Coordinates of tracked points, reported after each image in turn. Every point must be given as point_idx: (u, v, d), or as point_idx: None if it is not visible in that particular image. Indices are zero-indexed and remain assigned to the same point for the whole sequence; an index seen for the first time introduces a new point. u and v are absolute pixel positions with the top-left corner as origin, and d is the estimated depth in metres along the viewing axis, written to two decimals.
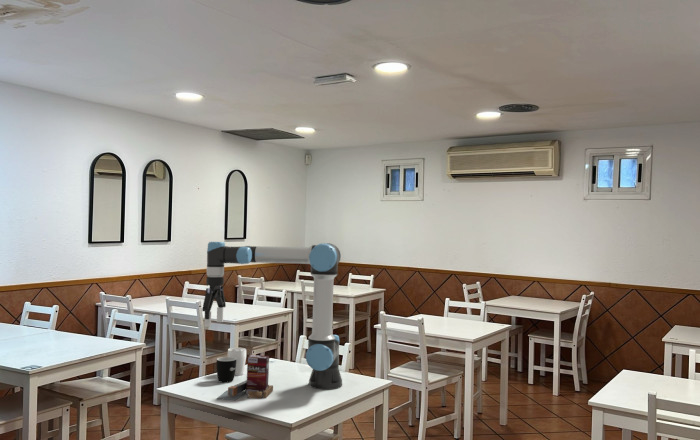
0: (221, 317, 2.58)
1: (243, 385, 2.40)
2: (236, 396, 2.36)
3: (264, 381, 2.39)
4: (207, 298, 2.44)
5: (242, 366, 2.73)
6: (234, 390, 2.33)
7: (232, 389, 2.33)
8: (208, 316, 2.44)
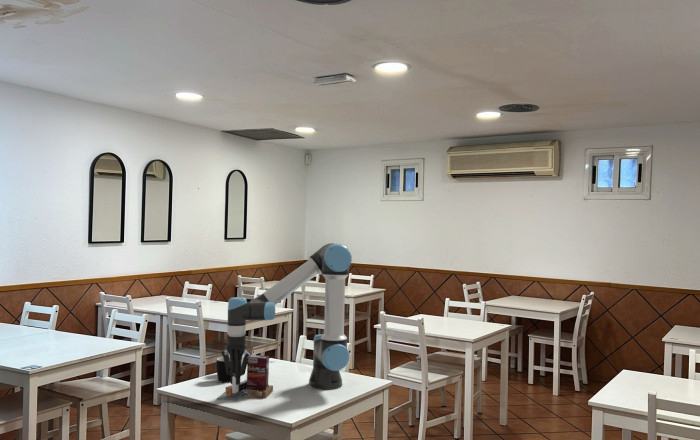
0: None
1: (242, 385, 2.40)
2: (236, 396, 2.36)
3: (264, 381, 2.39)
4: None
5: None
6: None
7: (230, 389, 2.33)
8: (231, 381, 2.34)
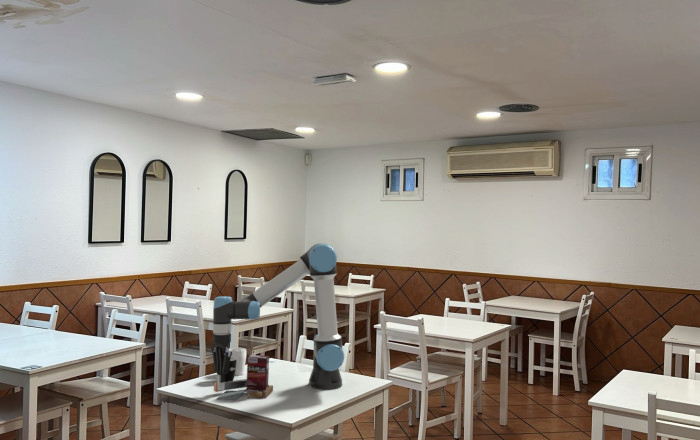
0: None
1: (234, 383, 2.43)
2: (236, 396, 2.36)
3: (264, 381, 2.39)
4: None
5: (242, 366, 2.73)
6: None
7: (215, 385, 2.38)
8: None
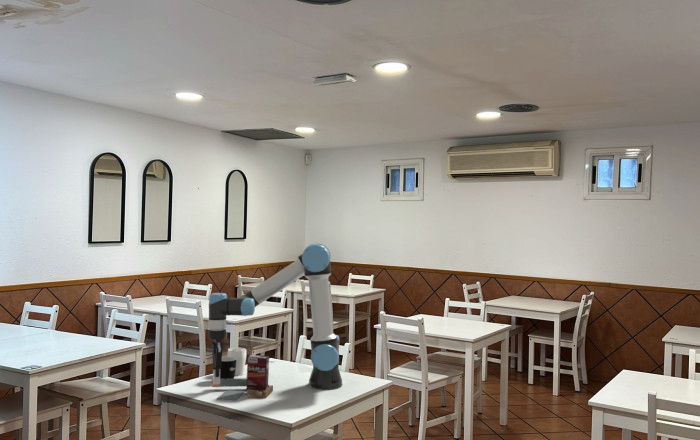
0: None
1: (231, 381, 2.47)
2: (236, 396, 2.36)
3: (264, 381, 2.39)
4: None
5: (242, 366, 2.73)
6: None
7: (212, 380, 2.46)
8: None
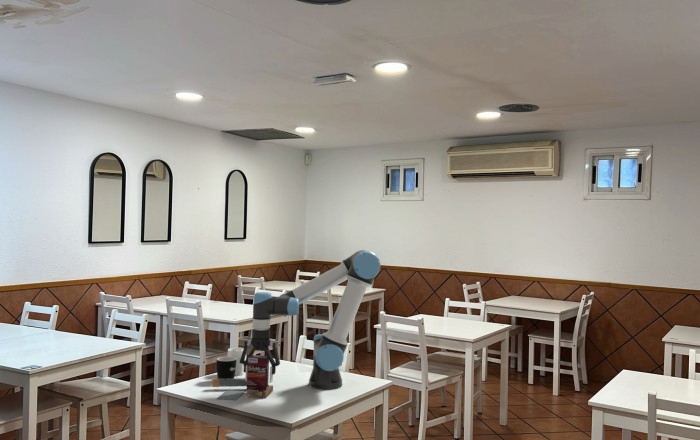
0: None
1: (231, 381, 2.47)
2: (236, 396, 2.36)
3: (264, 381, 2.39)
4: None
5: (242, 366, 2.73)
6: (214, 382, 2.45)
7: (212, 380, 2.46)
8: (244, 369, 2.42)
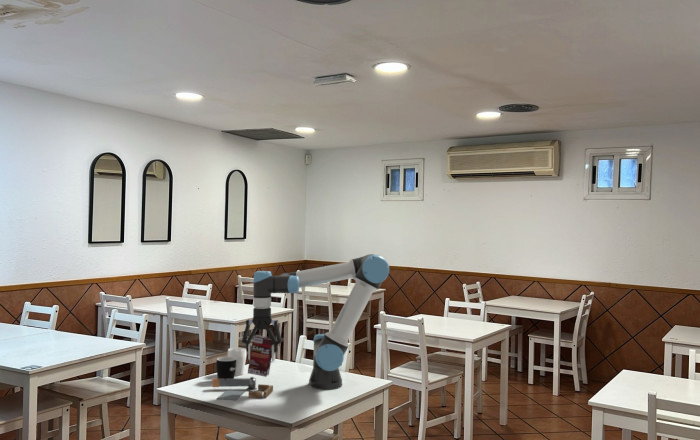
0: None
1: (231, 381, 2.47)
2: (236, 396, 2.36)
3: (266, 362, 2.39)
4: None
5: (242, 366, 2.73)
6: (214, 382, 2.45)
7: (212, 380, 2.46)
8: (247, 349, 2.42)
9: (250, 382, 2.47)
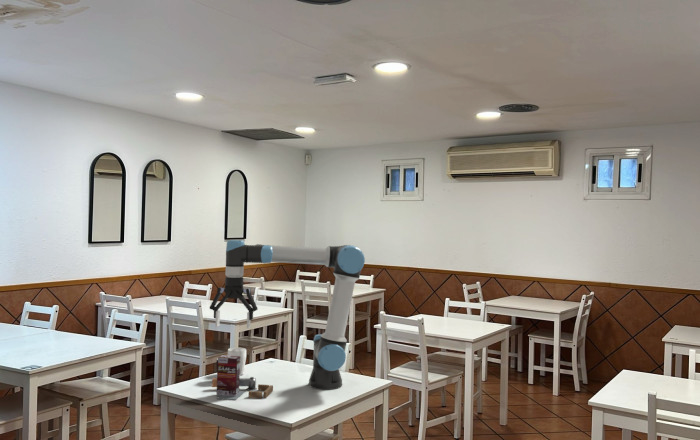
0: None
1: None
2: (236, 396, 2.36)
3: (234, 382, 2.35)
4: None
5: (242, 366, 2.73)
6: (214, 382, 2.45)
7: (212, 380, 2.46)
8: (215, 315, 2.39)
9: (250, 382, 2.47)
